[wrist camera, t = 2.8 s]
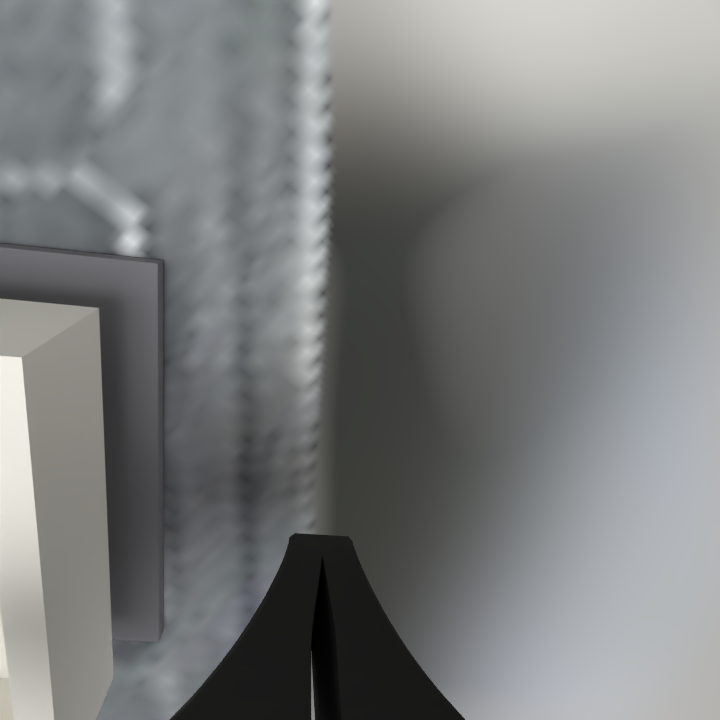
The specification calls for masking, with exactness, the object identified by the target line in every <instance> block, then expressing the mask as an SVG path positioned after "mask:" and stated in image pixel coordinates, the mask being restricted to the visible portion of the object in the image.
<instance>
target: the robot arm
mask: <svg viewBox="0 0 720 720" xmlns="http://www.w3.org/2000/svg"><path fill="white" fill-rule="evenodd" d="M311 650H312V670H313V689H314V707H315V720H465V719H464V718H463V717H462V716H461V714H460V713H459V712H458V711H457V710H456V709H455V708H454V707H453V706H452V704H451V703H450V702H449V701H448V700H447V699H446V698H445V697H444V696H443V694H442V693H441V692H440V691H439V690H438V689H437V687H436V686H435V685H434V684H433V682H432V681H431V680H430V679H429V677H428V676H427V675H426V674H425V672H424V671H423V670H422V668H421V667H420V666H419V664H418V663H417V662H416V660H415V659H414V657H413V656H412V655H411V653H410V652H409V650H408V649H407V648H406V646H405V644H404V643H403V641H402V640H401V638H400V637H399V635H398V634H397V632H396V630H395V629H394V627H393V626H392V624H391V622H390V621H389V619H388V617H387V616H386V614H385V612H384V610H383V609H382V607H381V605H380V603H379V601H378V599H377V597H376V596H375V594H374V592H373V590H372V588H371V586H370V584H369V582H368V580H367V578H366V575H365V573H364V571H363V569H362V567H361V564H360V562H359V560H358V557H357V555H356V551H355V549H354V546H353V542H352V540H351V539H350V538H349V537H347V536H330V535H329V536H328V535H314V534H298V533H295V534H294V535H292V536H291V537H290V538H289V544H288V547H287V550H286V553H285V556H284V558H283V561H282V563H281V566H280V568H279V570H278V572H277V574H276V576H275V578H274V580H273V582H272V584H271V586H270V588H269V590H268V592H267V594H266V596H265V597H264V599H263V601H262V603H261V604H260V606H259V607H258V609H257V611H256V612H255V614H254V615H253V617H252V619H251V620H250V622H249V624H248V625H247V627H246V628H245V630H244V631H243V633H242V634H241V636H240V637H239V639H238V640H237V641H236V643H235V644H234V646H233V647H232V648H231V650H230V651H229V652H228V654H227V655H226V656H225V658H224V659H223V660H222V661H221V663H220V664H219V665H218V666H217V668H216V669H215V670H214V671H213V673H212V674H211V675H210V676H209V677H208V679H207V680H206V681H205V682H204V683H203V685H202V686H201V687H200V688H199V689H198V690H197V691H196V693H195V694H194V695H193V696H192V697H191V698H190V699H189V700H188V701H187V702H186V703H185V704H184V705H183V707H182V708H181V709H180V710H179V711H178V712H177V713H176V714H175V715H174V716H173V717H172V718H171V719H170V720H311Z"/></svg>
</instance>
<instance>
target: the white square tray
mask: <svg viewBox="0 0 720 720" xmlns="http://www.w3.org/2000/svg"><path fill="white" fill-rule="evenodd" d="M113 678H114V675H113V650H112V625H111V600H110V575H109V549H108V524H107V499H106V474H105V449H104V424H103V399H102V373H101V348H100V323H99V308H94V307H84V306H73V305H63V304H53V303H42V302H32V301H21V300H11V299H1V298H0V720H96V719H97V717H98V714H99V712H100V709H101V707H102V704H103V702H104V700H105V697H106V695H107V692H108V690H109V687H110V685H111V683H112V680H113Z"/></svg>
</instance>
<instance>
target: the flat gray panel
mask: <svg viewBox="0 0 720 720" xmlns="http://www.w3.org/2000/svg"><path fill="white" fill-rule="evenodd" d="M0 298H1V299H11V300H21V301H32V302H42V303H53V304H63V305H73V306H84V307H94V308H99V323H100V348H101V373H102V399H103V424H104V449H105V474H106V499H107V524H108V549H109V575H110V600H111V625H112V640H122V641H146V642H159V640H160V638H161V635H162V632H163V260H156V259H146V258H137V257H127V256H118V255H108V254H99V253H89V252H80V251H70V250H61V249H51V248H42V247H32V246H23V245H13V244H4V243H0Z"/></svg>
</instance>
